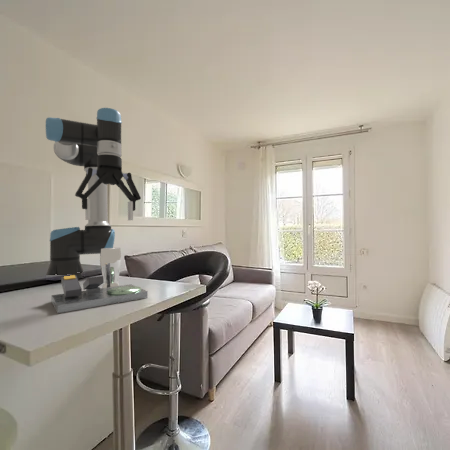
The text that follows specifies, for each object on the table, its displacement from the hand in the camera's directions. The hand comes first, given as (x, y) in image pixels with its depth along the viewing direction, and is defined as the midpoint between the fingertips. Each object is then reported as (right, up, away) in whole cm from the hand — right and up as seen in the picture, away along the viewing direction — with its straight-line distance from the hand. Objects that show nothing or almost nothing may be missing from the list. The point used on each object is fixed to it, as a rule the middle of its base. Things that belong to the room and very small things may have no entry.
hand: (110, 220), depth 89 cm
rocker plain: (-3, -20, -6) cm, 21 cm away
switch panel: (0, -25, -7) cm, 26 cm away
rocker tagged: (-8, -20, -9) cm, 23 cm away
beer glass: (-3, -25, +7) cm, 26 cm away
